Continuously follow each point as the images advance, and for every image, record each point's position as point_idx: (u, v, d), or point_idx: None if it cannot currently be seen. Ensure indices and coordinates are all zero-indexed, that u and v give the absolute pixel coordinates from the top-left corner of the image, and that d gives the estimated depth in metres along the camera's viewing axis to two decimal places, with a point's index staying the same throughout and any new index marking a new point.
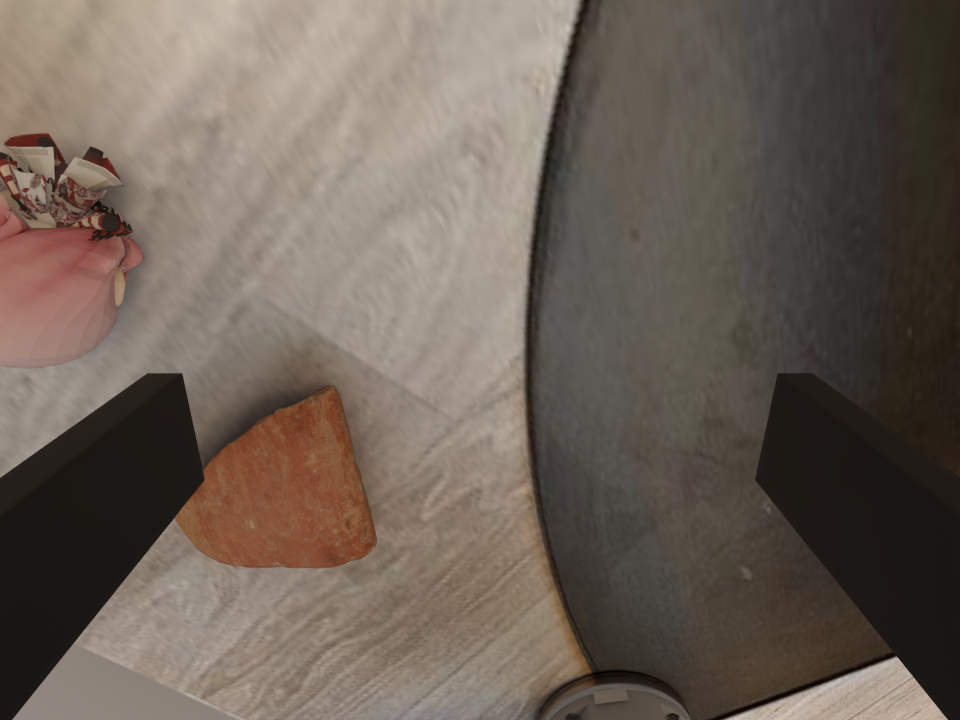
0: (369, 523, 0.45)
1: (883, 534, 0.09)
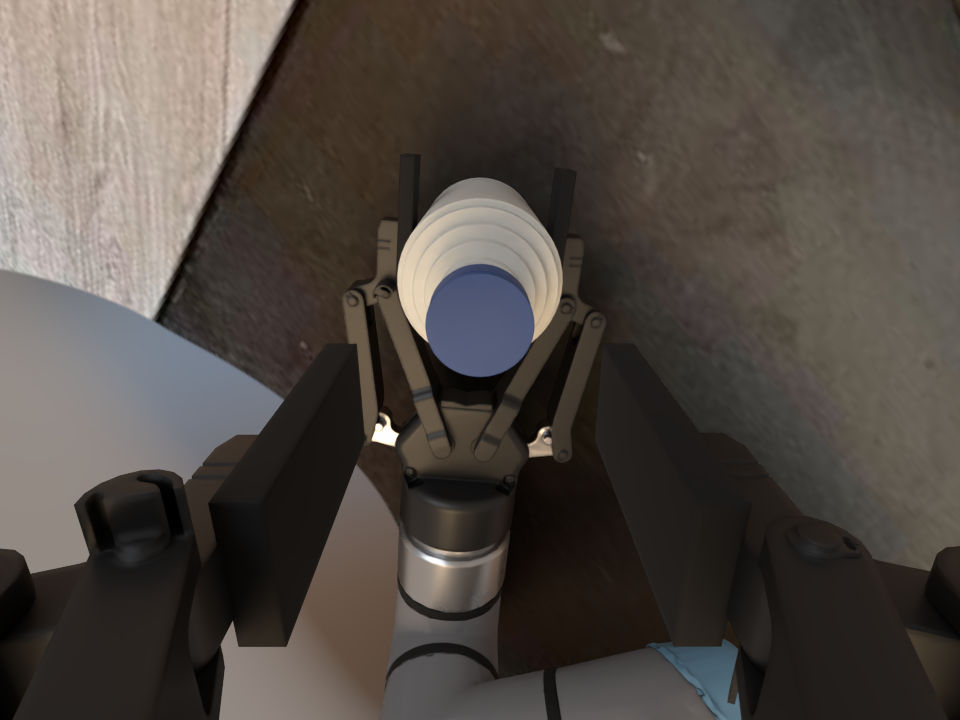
0: None
1: (639, 469, 0.11)
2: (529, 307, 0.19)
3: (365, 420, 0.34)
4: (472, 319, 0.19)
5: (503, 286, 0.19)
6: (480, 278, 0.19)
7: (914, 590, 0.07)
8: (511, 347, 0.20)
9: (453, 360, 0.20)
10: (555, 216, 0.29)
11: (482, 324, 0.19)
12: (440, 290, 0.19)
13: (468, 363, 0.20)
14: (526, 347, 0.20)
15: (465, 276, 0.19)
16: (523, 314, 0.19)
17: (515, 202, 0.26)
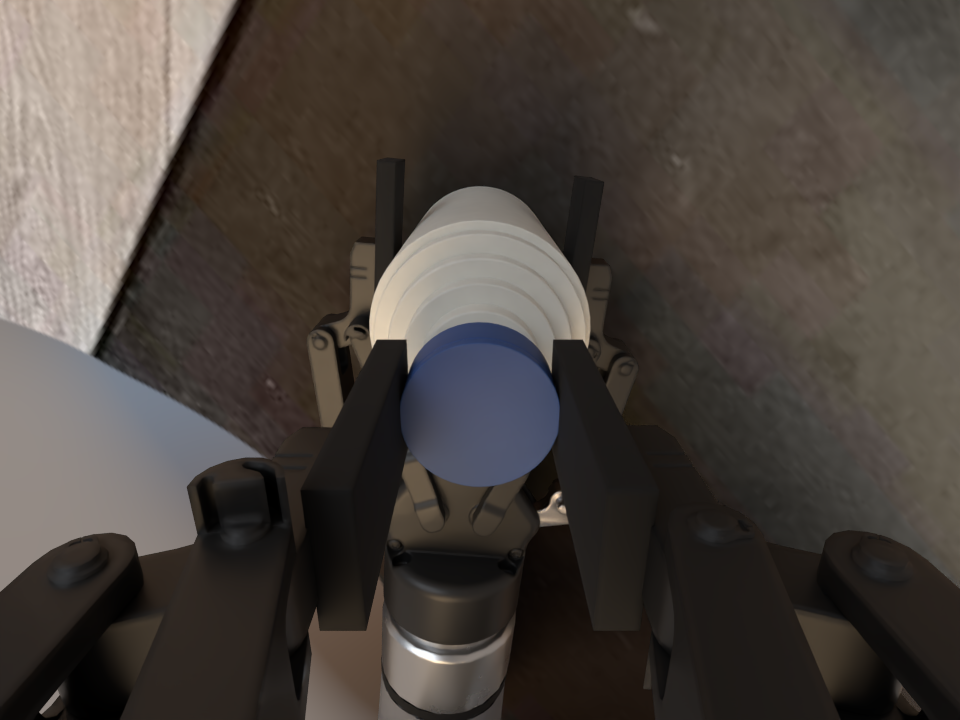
0: None
1: (573, 461, 0.11)
2: (553, 391, 0.13)
3: None
4: (468, 408, 0.13)
5: (515, 361, 0.13)
6: (480, 350, 0.12)
7: (807, 573, 0.07)
8: (526, 447, 0.13)
9: (441, 464, 0.14)
10: (576, 238, 0.23)
11: (483, 415, 0.13)
12: (420, 367, 0.13)
13: (463, 468, 0.14)
14: (548, 447, 0.13)
15: (458, 347, 0.12)
16: (544, 401, 0.13)
17: (527, 223, 0.19)
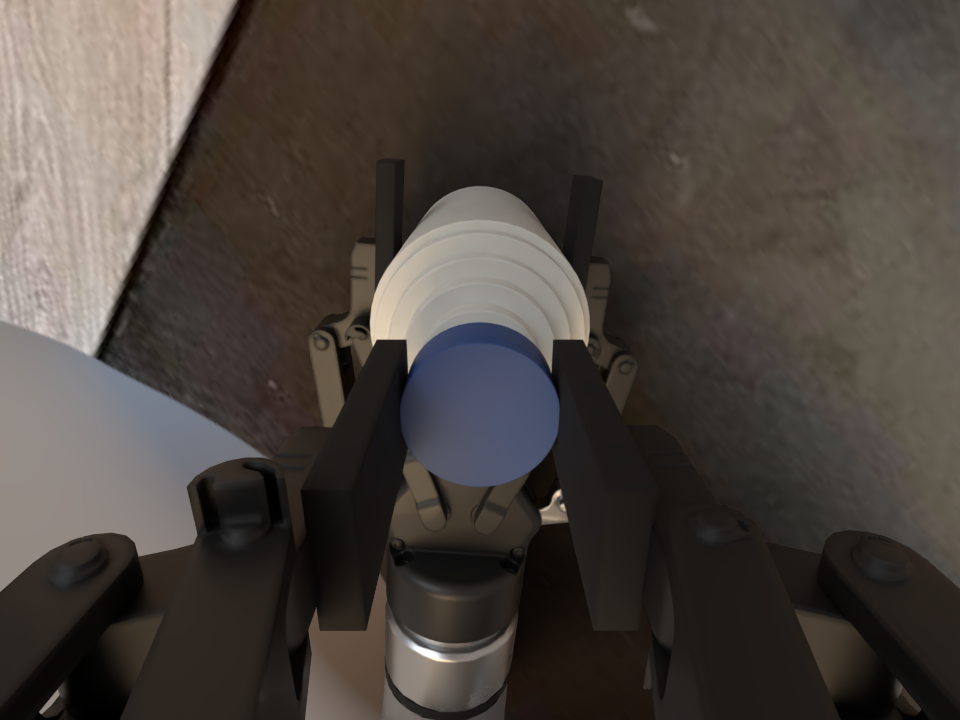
0: None
1: (573, 461, 0.11)
2: (438, 355, 0.12)
3: None
4: (469, 430, 0.13)
5: (413, 395, 0.13)
6: (407, 426, 0.13)
7: (807, 573, 0.07)
8: (506, 372, 0.13)
9: (536, 447, 0.13)
10: (575, 237, 0.23)
11: (475, 416, 0.13)
12: (433, 472, 0.14)
13: (539, 428, 0.13)
14: (504, 350, 0.12)
15: (407, 445, 0.13)
16: (451, 362, 0.13)
17: (526, 223, 0.20)
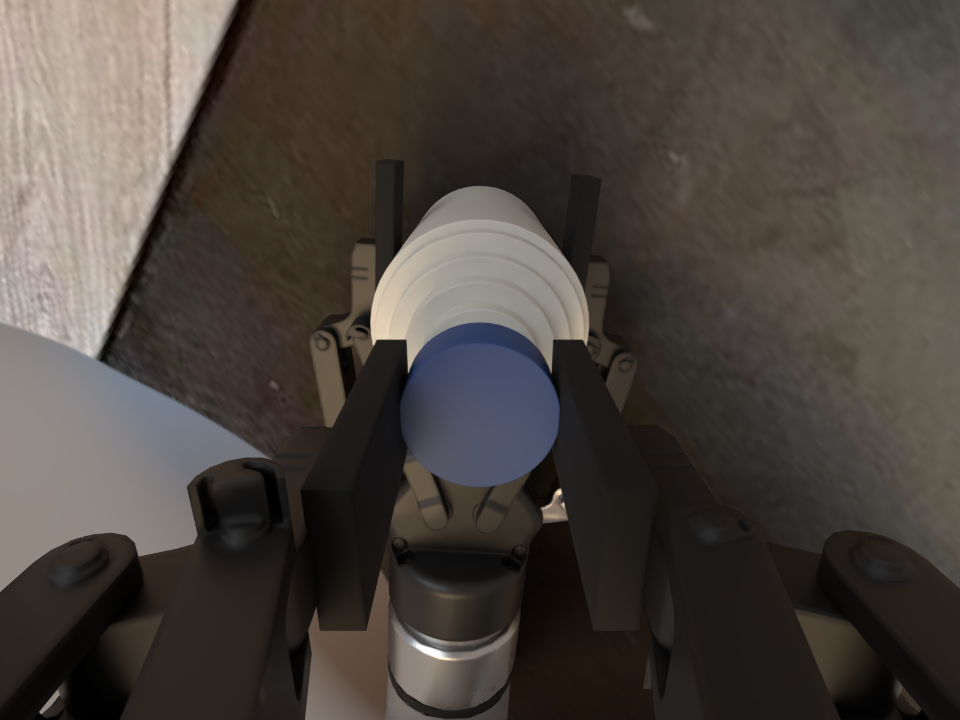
0: None
1: (573, 461, 0.11)
2: (418, 460, 0.13)
3: None
4: (493, 427, 0.13)
5: (462, 477, 0.14)
6: (496, 480, 0.14)
7: (807, 573, 0.07)
8: (425, 401, 0.13)
9: (506, 361, 0.13)
10: (574, 236, 0.23)
11: (477, 423, 0.13)
12: (546, 453, 0.13)
13: (482, 362, 0.13)
14: (403, 406, 0.13)
15: (516, 478, 0.14)
16: (423, 449, 0.13)
17: (524, 222, 0.20)
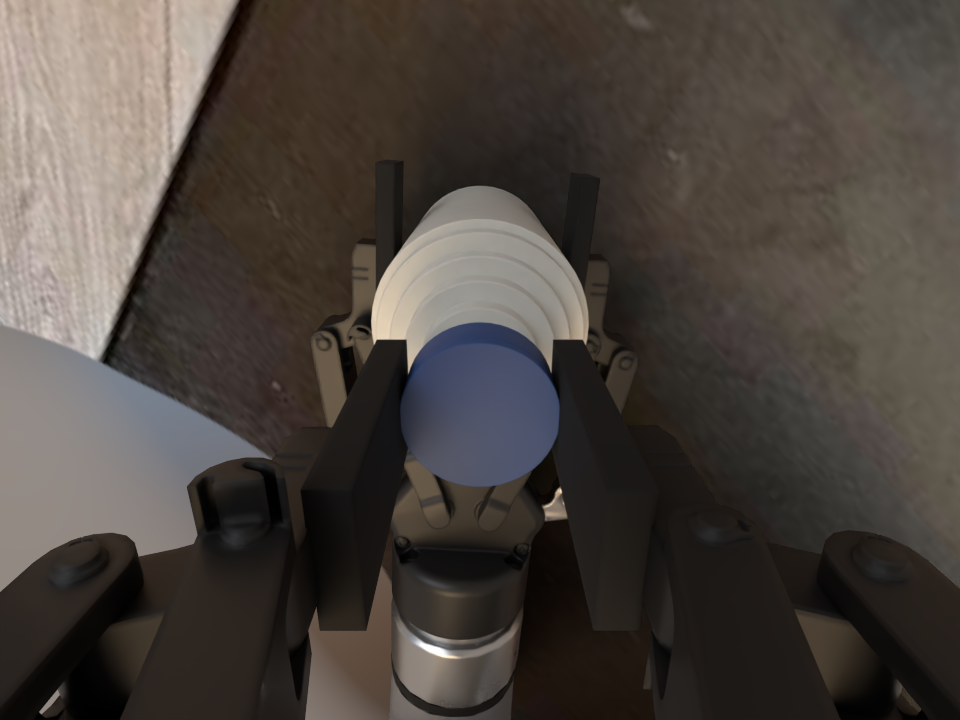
0: None
1: (573, 461, 0.11)
2: (532, 467, 0.14)
3: None
4: (487, 406, 0.13)
5: (549, 427, 0.13)
6: (549, 395, 0.13)
7: (806, 573, 0.07)
8: (467, 467, 0.14)
9: (415, 402, 0.13)
10: (573, 234, 0.23)
11: (485, 420, 0.13)
12: (512, 350, 0.12)
13: (419, 423, 0.13)
14: (475, 484, 0.14)
15: (545, 376, 0.13)
16: (519, 464, 0.14)
17: (524, 221, 0.20)
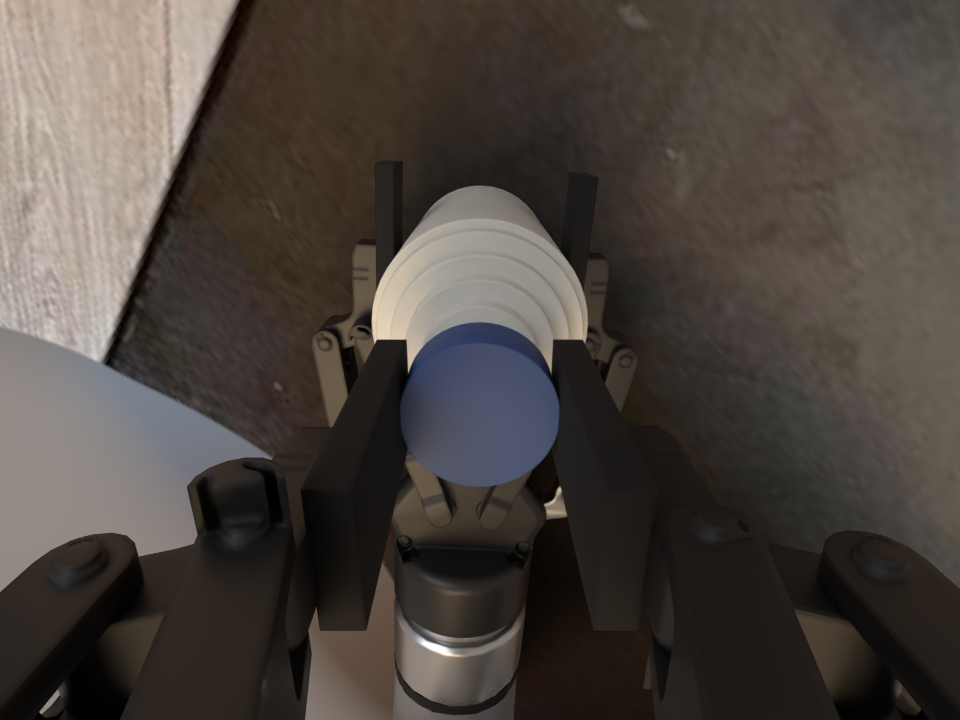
0: None
1: (573, 461, 0.11)
2: (531, 362, 0.13)
3: None
4: (464, 414, 0.13)
5: (480, 353, 0.12)
6: (443, 358, 0.13)
7: (807, 573, 0.07)
8: (536, 424, 0.13)
9: (470, 475, 0.14)
10: (572, 233, 0.23)
11: (481, 414, 0.13)
12: (402, 398, 0.13)
13: (491, 469, 0.14)
14: (556, 414, 0.13)
15: (422, 366, 0.13)
16: (528, 375, 0.13)
17: (522, 220, 0.20)
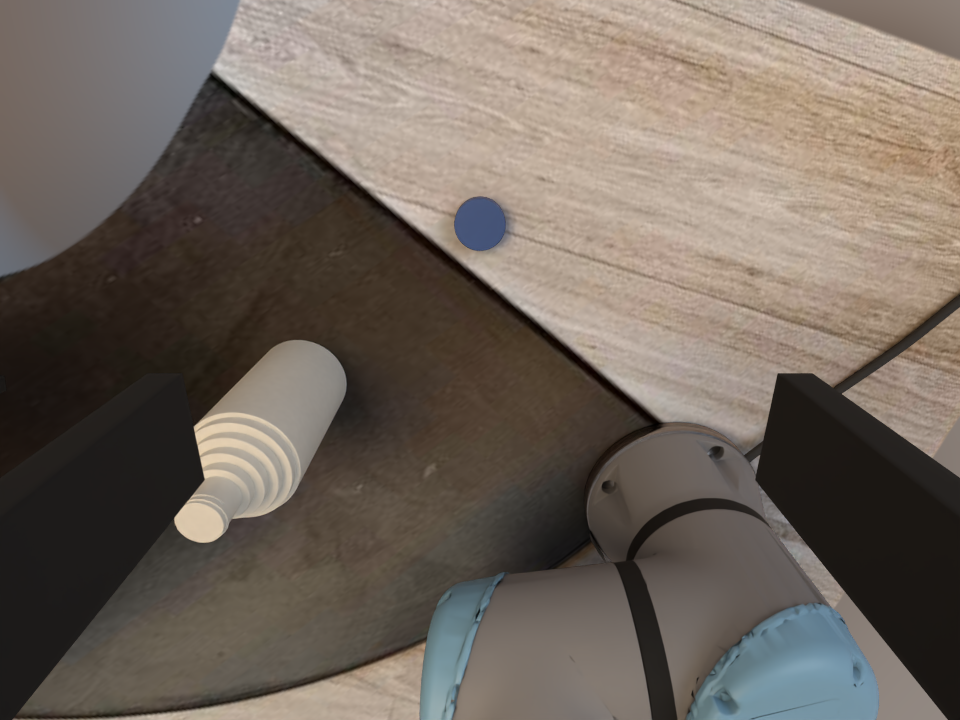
0: None
1: (883, 534, 0.09)
2: (495, 205, 0.41)
3: None
4: (475, 223, 0.41)
5: (480, 202, 0.41)
6: (469, 203, 0.41)
7: None
8: (497, 226, 0.41)
9: (476, 246, 0.42)
10: None
11: (480, 223, 0.41)
12: (455, 218, 0.41)
13: (483, 244, 0.42)
14: (504, 223, 0.41)
15: (462, 206, 0.41)
16: (494, 209, 0.41)
17: None
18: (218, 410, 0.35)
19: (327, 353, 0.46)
